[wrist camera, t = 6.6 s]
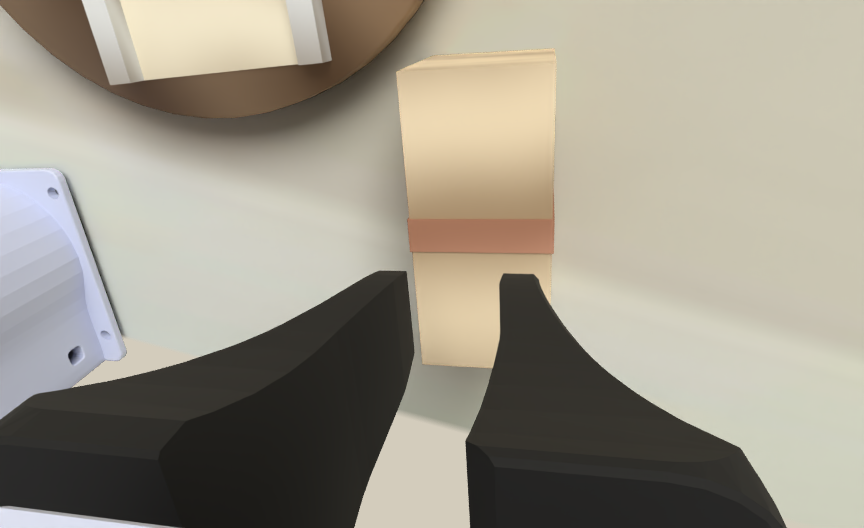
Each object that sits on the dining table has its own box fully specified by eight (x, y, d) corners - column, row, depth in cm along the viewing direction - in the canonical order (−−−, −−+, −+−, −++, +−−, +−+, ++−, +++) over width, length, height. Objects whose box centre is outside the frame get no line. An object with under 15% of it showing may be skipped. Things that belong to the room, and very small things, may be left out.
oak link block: (549, 294, 21) (550, 372, 17) (446, 291, 22) (420, 365, 18) (555, 48, 18) (558, 63, 13) (431, 55, 18) (393, 72, 14)
